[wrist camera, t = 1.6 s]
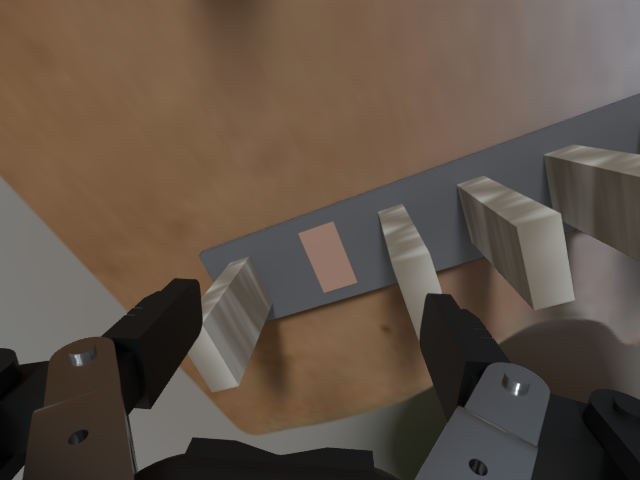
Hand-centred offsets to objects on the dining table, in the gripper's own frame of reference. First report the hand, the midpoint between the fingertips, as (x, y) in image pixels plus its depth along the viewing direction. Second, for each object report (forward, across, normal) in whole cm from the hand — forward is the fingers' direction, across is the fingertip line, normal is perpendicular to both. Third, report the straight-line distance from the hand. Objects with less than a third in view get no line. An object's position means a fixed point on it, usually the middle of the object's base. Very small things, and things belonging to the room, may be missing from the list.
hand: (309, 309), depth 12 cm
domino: (+22, +8, +10) cm, 26 cm away
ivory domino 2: (+21, -14, +1) cm, 25 cm away
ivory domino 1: (+21, -7, +4) cm, 23 cm away
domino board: (+22, -10, +2) cm, 25 cm away
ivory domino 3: (+21, -21, -2) cm, 29 cm away
